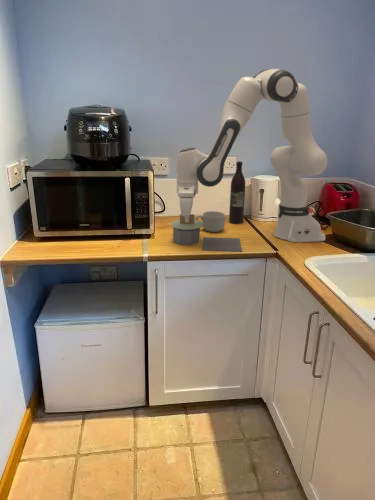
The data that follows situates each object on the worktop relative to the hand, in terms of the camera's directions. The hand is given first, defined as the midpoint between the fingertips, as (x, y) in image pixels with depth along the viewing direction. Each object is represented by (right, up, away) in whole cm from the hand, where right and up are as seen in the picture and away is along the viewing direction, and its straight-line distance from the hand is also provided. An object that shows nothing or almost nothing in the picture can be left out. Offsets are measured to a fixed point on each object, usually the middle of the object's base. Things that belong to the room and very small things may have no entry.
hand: (187, 220), depth 161 cm
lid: (0, -2, +1) cm, 2 cm away
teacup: (+11, -3, +17) cm, 21 cm away
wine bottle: (+25, +2, +31) cm, 39 cm away
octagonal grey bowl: (0, -8, +3) cm, 9 cm away
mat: (+14, -10, -2) cm, 18 cm away
